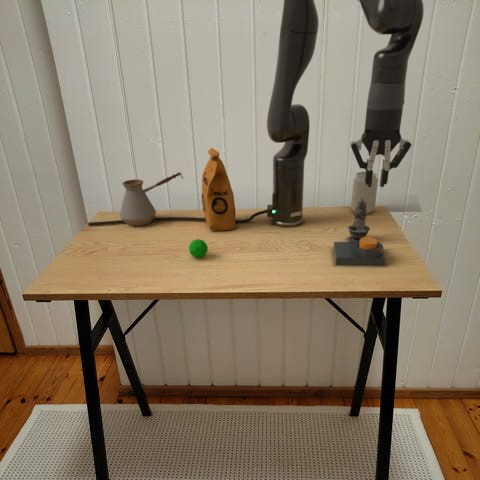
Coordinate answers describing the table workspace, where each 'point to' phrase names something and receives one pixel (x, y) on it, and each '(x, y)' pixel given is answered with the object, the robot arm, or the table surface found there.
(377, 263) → the button box
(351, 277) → the table surface
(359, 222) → the salt shaker
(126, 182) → the coffee pot
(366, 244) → the button
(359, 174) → the can
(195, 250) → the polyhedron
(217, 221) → the coffee package
